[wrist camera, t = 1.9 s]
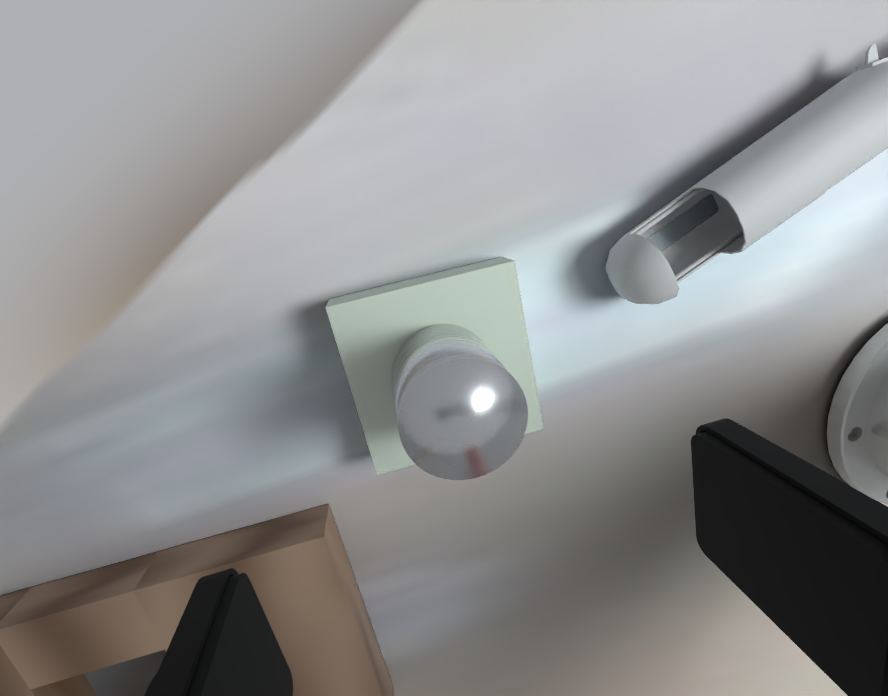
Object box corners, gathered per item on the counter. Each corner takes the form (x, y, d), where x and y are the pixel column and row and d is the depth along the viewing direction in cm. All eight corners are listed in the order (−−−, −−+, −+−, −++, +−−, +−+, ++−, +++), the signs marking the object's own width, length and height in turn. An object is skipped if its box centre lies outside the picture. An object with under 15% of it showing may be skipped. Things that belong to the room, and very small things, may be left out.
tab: (501, 256, 21) (514, 260, 19) (529, 411, 24) (543, 429, 22) (329, 299, 21) (325, 307, 19) (376, 453, 23) (377, 475, 21)
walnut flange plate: (328, 503, 23) (323, 539, 21) (393, 686, 27) (395, 735, 25) (-1, 596, 22) (-50, 646, 20) (116, 773, 26) (87, 835, 23)
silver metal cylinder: (481, 312, 20) (516, 343, 15) (499, 404, 21) (537, 460, 16) (380, 338, 19) (383, 378, 15) (405, 430, 21) (415, 494, 16)
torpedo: (621, 321, 23) (712, 361, 17) (576, 243, 22) (657, 255, 16) (926, 103, 23) (1138, 61, 16) (900, 7, 21) (1122, -79, 15)
